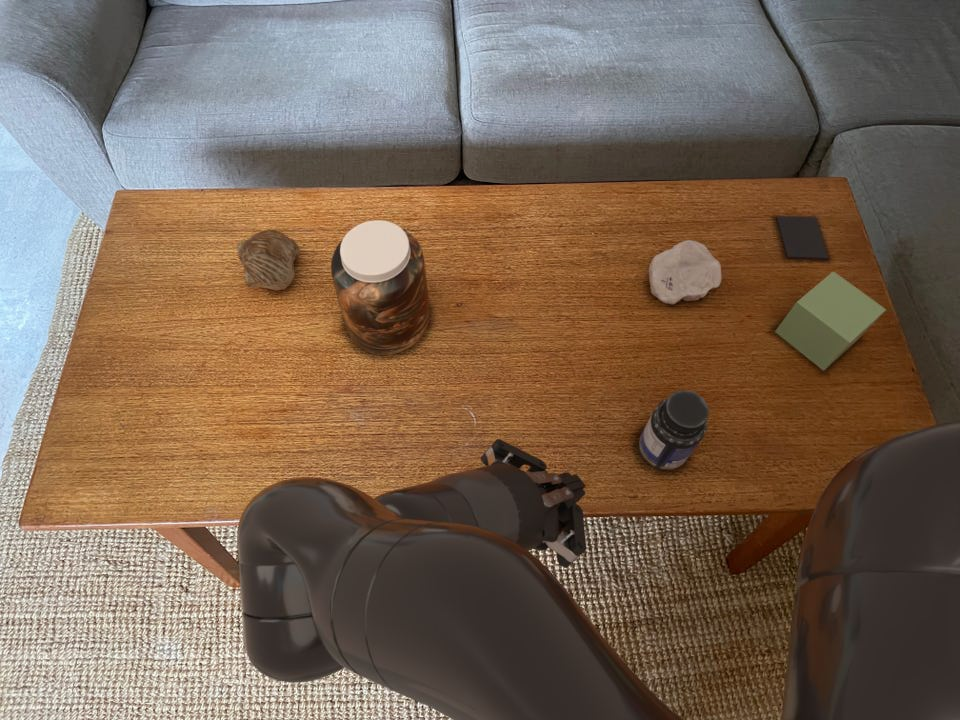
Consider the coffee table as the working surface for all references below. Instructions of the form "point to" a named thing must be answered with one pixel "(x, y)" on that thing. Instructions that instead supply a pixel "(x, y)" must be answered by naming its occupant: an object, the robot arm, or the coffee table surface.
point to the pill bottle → (674, 430)
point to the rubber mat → (802, 237)
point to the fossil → (684, 273)
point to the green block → (829, 320)
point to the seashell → (268, 259)
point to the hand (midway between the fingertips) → (575, 486)
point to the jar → (381, 287)
